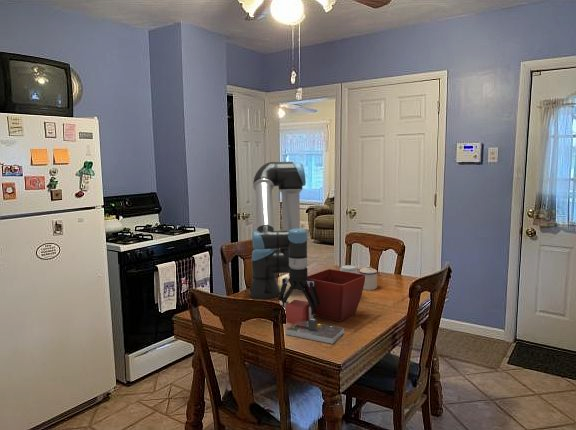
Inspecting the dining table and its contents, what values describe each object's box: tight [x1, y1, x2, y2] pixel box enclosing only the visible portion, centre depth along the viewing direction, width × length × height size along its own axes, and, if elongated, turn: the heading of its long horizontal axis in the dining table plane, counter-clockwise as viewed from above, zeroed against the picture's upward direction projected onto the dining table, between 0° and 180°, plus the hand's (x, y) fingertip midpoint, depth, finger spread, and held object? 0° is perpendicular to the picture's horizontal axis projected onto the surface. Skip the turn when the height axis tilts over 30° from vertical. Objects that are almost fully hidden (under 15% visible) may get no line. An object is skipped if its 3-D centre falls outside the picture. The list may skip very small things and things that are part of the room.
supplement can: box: [339, 264, 358, 273], centre depth 204 cm, size 8×8×15 cm
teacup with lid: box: [357, 264, 378, 291], centre depth 220 cm, size 12×9×12 cm
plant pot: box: [307, 268, 365, 322], centre depth 182 cm, size 19×19×17 cm
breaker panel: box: [285, 320, 345, 345], centre depth 163 cm, size 19×11×3 cm, turn 62°
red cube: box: [286, 299, 310, 324], centre depth 177 cm, size 8×8×7 cm
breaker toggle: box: [308, 318, 318, 330], centre depth 162 cm, size 2×2×4 cm
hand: (298, 319), depth 177 cm, fingers open, 11 cm apart
